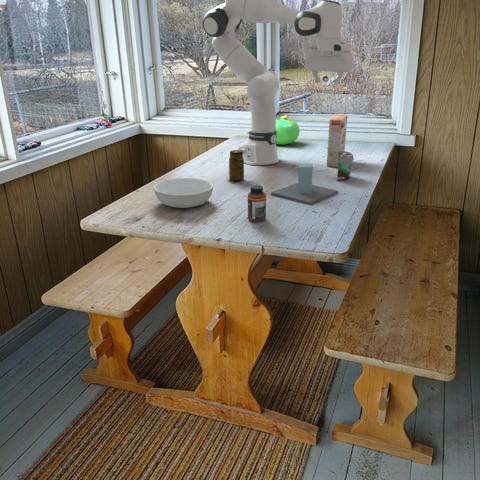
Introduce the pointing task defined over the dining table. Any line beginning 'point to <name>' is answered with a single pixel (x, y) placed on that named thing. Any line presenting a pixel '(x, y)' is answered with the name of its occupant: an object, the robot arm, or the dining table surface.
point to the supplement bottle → (256, 204)
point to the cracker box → (336, 139)
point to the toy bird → (286, 130)
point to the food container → (344, 165)
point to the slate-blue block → (305, 178)
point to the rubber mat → (304, 194)
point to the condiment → (236, 167)
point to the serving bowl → (183, 192)
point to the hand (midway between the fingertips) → (327, 83)
